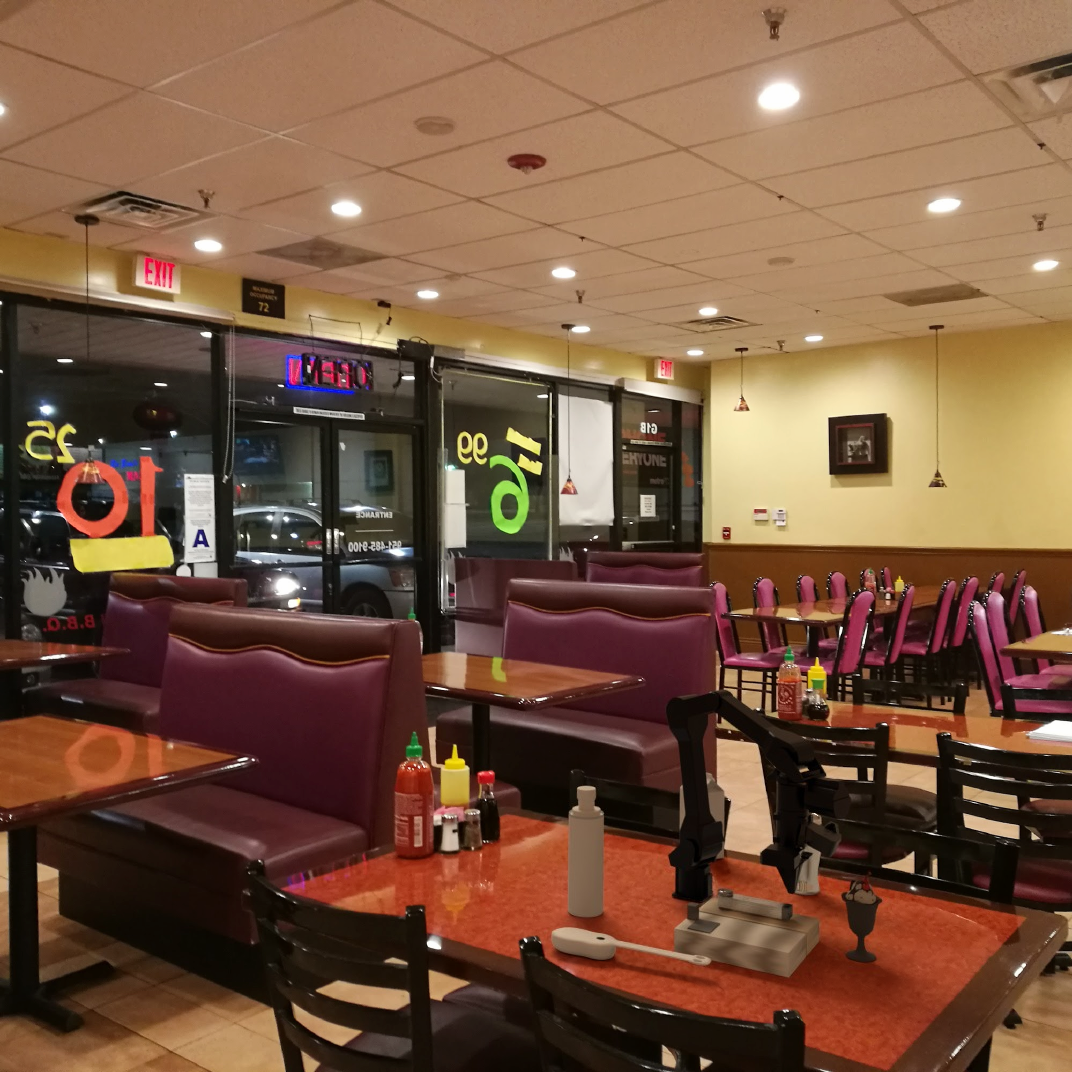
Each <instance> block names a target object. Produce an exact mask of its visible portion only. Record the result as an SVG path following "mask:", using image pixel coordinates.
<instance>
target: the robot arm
mask: <svg viewBox="0 0 1072 1072" xmlns="http://www.w3.org/2000/svg"><path fill="white" fill-rule="evenodd" d="M711 714H716V715H718V716H719V717H721V719H723V720H724V721H726V722H727V724H730V725H731V726H732V727H734V728H735V729H736V730H738V731H739V732H740V733H742V734H743V735H744V736H745V737H747V738H748V739H750V740H751V741H752V742H754V743H755V744H756V745H757V746H758V747H759V748H760V749H761V750H762V752H763V754H764V757H765V759H766V760H768V762H769V763H770V764H771V765H772V766H773V767H774V769H773V770H772V772H770V773H769V774H768V775H767V776H766V777H765V779H766V780H767V781H771V782H775V783H776V811H775V812H774V813H773V814H772V819H773V821H775V822H776V823H775V824H776V826H775V828H776V829H775V830H776V831H775V834H774V835H773V836H772V843H770V844H769V845H768V846H767V847H766V846H765V848H764V849H763V850H762V851H760V852H759V863H760V865H763V866H770V867H774V868H776V870H777V872H778V874H779V876H780V878H781V880H782V882H783V885H784V887H785V889H786V891H787V893H788V894H789V895H794V894H796V893H795V891H796V887H797V884H798V880H799V876H800V873H801V869H802V866H803V863H804V862H805V861H806V860H807V859H809V858H810V857H811V856H812V855H813V853H811V852H805V847H806V845H808V846H810V847H811V848H813V849H815V850H817V851H819V852H821V854H822V855H823V856H825V857H827V858H831V857H833V855H835V854H836V852H837V850H838V848H839V845H840V842H842V833H840V830H839V824H838V823H836V822H833V821H829V822H828V823H826V825H824V824H820V825H818V824H816V823H814V822H813V815H812V813H814V814H817V815H819V816H823V817H826V818H827V817H828V818H832V819H835V820H836V819H837V820H840V821H841V820H844V819H846V818H847V816H848V814H849V813H850V808H851V805H852V797H851V796H850V795H851V794H850V792H849V790H848V788H847V787H846V786H845V780H844V779H841V778H831V777H827V773H826V771H825V769H824V767H823V766H822V764H821V762H820V761H819V759H818V757H817V755H816V753H815V750H814V746H813V744H812V743H811V741H810V740H808V739H807V738H805V737H803V736H800V735H798V734H797V733H794V732H792V731H789V730H785V729H782V728H779V727H778V726H776V725H774V724H773V723H771V722H770V721H768V720H767V719H765V718H764V717H763V716H761V715H760V713H757V712H756V711H755V710H753V709H752V708H751V707H750V706H748V705H746V703H743V701H741V700H739V699H738V698H737V697H735V696H734V694H733V693H732V691H730V690H727V689H719V690H712V691H709V692H708V693H705V694H695V693H694V694H693V693H692V694H687V695H680V696H675V697H672V698H671V699H669V700H668V702H667V703H666V705H665V715H666V719H667V724H668V729H669V730H670V732H671V733H672V735H673V737H674V738H675V739H676V741H677V747H678V756H679V767H680V776H681V786H682V787H683V797H684V807H685V817H684V819H683V822H682V825H681V828H680V827H679V840H678V841H679V842H678V843H679V844H678V845H677V846H676V847H675V848H674V849H673V850H672V851H671V852H670V853H668V855H667V857H668V861H669V865H670V866H671V867H673V868H675V869H674V871H675V873H674V874H675V876H674V878H675V879H674V883H675V884H674V891H673V892H672V893H671V897H673V898H678V899H683V900H687V901H693V902H698V903H703V902H704V901H706V900H707V899H708V898H709V897H710V896H712V895H713V894H714V891H713V888H714V887H713V882H714V880H713V879H714V878H713V876H714V875H713V873H712V872H711V864H714V863H716V860H717V859H716V857H717V855H718V854H719V853H720V851H721V850H722V847H723V842H724V843H725V842H726V839H725V836H724V837H723V824H722V822H721V821H715V819H714V818H713V816H712V814H711V813H710V806H709V796H708V787H707V777H706V773H707V770H706V769H707V768H706V759H705V751H704V750H705V749H704V741H703V740H704V736H705V733H706V731H707V728H708V725H709V716H710V715H711ZM805 769H807V770H805ZM802 770H804V771H802ZM774 843H775V844H774Z"/></svg>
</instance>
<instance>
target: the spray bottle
mask: <svg viewBox="0 0 1072 1072" xmlns="http://www.w3.org/2000/svg"><path fill="white" fill-rule="evenodd" d="M576 791H577V792H576V799H577V800H578V801H577V802H578V805H576V806H572V809H571V810H569V811H568V844H567V845H568V846H567V847H568V850H567V851H568V857H567V858H568V859H567V861H568V862H567V863H568V864H567V865H568V868H567V870H568V871H567V875H568V876H567V911H568V913H569V914H570V915H572V916H573V917H574V916H575V917H578V918H594V917H598V916H601V915H602V914H603V912H604V863H605V862H604V861H605V860H604V859H605V858H604V855H605V853H604V852H605V851H604V850H605V849H604V847H605V846H604V844H605V843H604V841H605V839H604V838H605V837H604V834H605V827H604V825H605V823H604V822H605V819H604V818H605V815H604V814H605V813H604V811H603V810H601V808H600V807H599V806H595V800H596V798H597V789H596V787H594V786H591V785H582V786H578V787H577V788H576Z"/></svg>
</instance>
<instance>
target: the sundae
mask: <svg viewBox="0 0 1072 1072" xmlns="http://www.w3.org/2000/svg"><path fill="white" fill-rule="evenodd" d="M871 875H872V872H871V871H868V872H867V873H866V875H865V877H863V878H861V879H859V880H854V879H851V880H850V884H849V885H850V886H849V889H848V891H844V892H842V893H841V894H840V896H841V899H842V901H844V902H845V905H846V906H845V907H846V915H847V923H848V927H849V929H850V931H851V932H852V933H853V934H854V935H855V936H856V937H857V945H856V948H855V949H849V950H847V952H845V956H846V957H847V958H848V959H850V960H852V961H854V962H858V963H872V962H874V961H875V960H876V959H877V956H876V955H875V954H874V953H873V952H871V951H868V950H867V948H866V946H865V939H866V937H867V936H869V935H870V934H871V933H872V932H873V931H874V928H875V927H874V926H875V923H876V917H877V916H876V915H877V911H878V910H877V909H878V907H879V905H880V904H881V903H883V899H882V898H881V897H879V896H878V895H876V894H875V893H874V890H873V887H872V885H871V884H870V880H869V878H868V877H869V876H871Z"/></svg>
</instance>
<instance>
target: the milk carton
mask: <svg viewBox="0 0 1072 1072" xmlns="http://www.w3.org/2000/svg"><path fill="white" fill-rule="evenodd" d="M706 777H707V787H708V796H709V806H710V813H711V814H712V816H713V818H714V819H715V821H721V822H722V824H723V837H724V838H725V790H724V789H723V788H722V787H721V786H720V785H719V784H718V783H717V782H716V778H714V777H713V774H712V773H709V772H706ZM684 817H685V807H684V797H683V787H682V785H681V786H680V787H679V829H680V828H681V825H682V822H683V819H684ZM724 856H725V842H723V847H722V850H721V851H720V853H719V854H718V855H717V857H716V860H718V859H724V858H725V857H724Z"/></svg>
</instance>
